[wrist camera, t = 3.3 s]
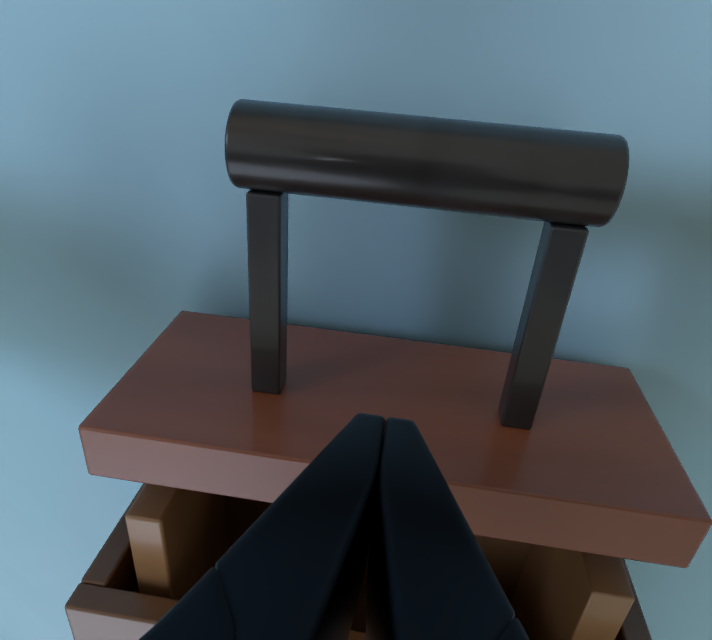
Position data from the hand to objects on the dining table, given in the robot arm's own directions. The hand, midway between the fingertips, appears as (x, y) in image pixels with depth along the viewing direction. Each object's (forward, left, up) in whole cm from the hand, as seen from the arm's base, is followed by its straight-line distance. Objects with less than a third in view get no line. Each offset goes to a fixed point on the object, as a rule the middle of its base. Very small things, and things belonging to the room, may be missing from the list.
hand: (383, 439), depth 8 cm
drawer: (-2, +3, -5) cm, 7 cm away
